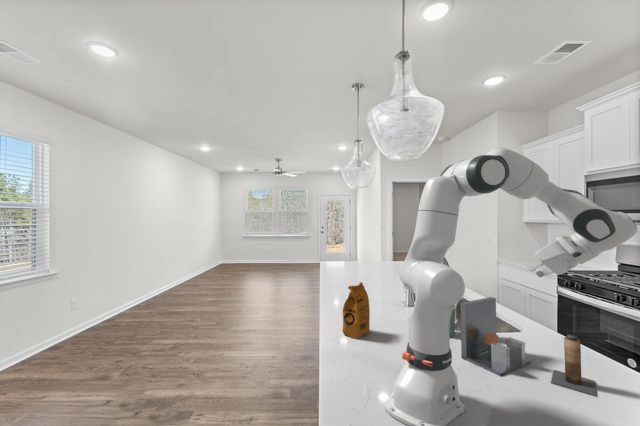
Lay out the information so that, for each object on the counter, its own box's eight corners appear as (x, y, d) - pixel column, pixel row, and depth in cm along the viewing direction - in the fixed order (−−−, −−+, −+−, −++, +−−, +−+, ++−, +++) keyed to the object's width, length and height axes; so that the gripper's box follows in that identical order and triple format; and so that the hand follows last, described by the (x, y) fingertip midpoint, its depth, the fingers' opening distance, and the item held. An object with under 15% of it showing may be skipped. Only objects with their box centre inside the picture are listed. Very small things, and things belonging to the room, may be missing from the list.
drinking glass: (458, 338, 123) (458, 310, 123) (433, 337, 125) (433, 309, 125) (452, 330, 133) (452, 303, 133) (429, 328, 135) (429, 302, 135)
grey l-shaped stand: (500, 376, 93) (498, 313, 94) (461, 357, 106) (460, 303, 106) (530, 363, 102) (529, 306, 102) (491, 347, 114) (490, 297, 115)
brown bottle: (581, 386, 87) (580, 339, 87) (565, 381, 89) (563, 336, 90) (581, 381, 90) (580, 335, 90) (565, 376, 92) (564, 332, 92)
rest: (595, 396, 82) (595, 395, 82) (550, 383, 89) (550, 381, 89) (594, 382, 90) (594, 380, 90) (553, 370, 97) (553, 369, 97)
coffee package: (339, 334, 128) (338, 284, 129) (354, 326, 138) (354, 280, 138) (357, 340, 122) (357, 288, 122) (373, 331, 131) (372, 283, 132)
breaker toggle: (493, 357, 103) (492, 337, 103) (484, 354, 106) (484, 334, 106) (498, 355, 104) (498, 335, 105) (490, 352, 107) (489, 332, 107)
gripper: (574, 251, 102) (536, 271, 109) (558, 233, 91) (517, 257, 97) (589, 265, 98) (548, 286, 104) (574, 249, 86) (530, 273, 93)
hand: (533, 272), depth 101 cm, fingers open, 8 cm apart
